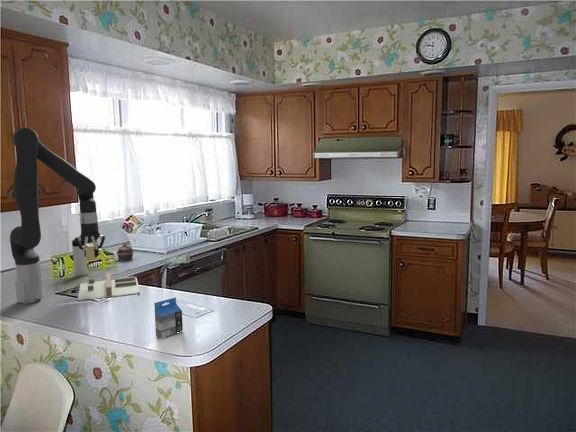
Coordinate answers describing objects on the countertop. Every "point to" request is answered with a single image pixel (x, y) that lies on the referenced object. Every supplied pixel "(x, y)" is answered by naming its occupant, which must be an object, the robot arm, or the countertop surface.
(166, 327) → the label tape cartridge
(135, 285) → the door board
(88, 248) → the bar
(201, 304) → the countertop surface
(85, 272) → the travel mug
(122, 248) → the cupcake
